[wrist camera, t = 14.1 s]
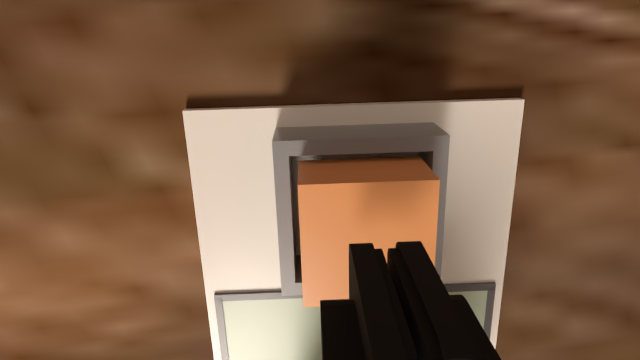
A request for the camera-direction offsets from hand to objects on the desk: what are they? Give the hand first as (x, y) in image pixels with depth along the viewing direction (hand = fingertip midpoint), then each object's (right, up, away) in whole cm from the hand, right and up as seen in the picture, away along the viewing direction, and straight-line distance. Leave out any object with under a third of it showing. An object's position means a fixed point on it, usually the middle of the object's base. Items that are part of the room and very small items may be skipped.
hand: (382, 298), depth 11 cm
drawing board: (0, -4, +9) cm, 10 cm away
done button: (0, +2, +5) cm, 5 cm away
